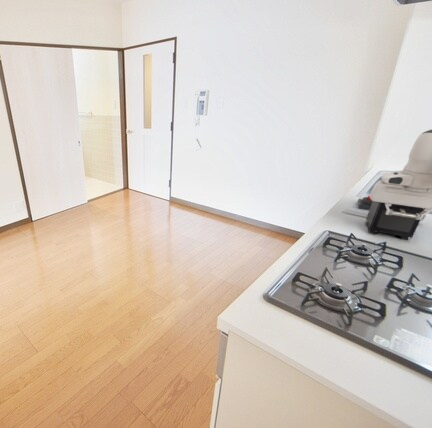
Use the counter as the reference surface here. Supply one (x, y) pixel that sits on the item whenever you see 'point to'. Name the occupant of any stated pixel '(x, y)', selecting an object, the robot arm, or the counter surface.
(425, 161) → the robot arm
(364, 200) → the release box
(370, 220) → the oven
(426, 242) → the counter surface
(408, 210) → the oven door
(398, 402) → the counter surface
